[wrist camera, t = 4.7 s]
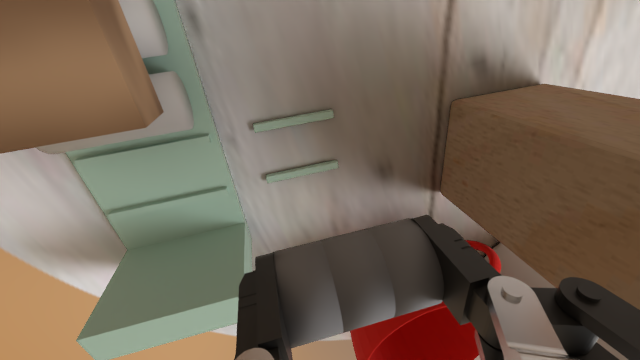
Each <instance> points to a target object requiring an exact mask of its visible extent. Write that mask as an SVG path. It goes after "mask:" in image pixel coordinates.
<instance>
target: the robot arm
mask: <svg viewBox="0 0 640 360" xmlns="http://www.w3.org/2000/svg"><path fill="white" fill-rule="evenodd" d="M410 220H412V221H414V222H415V223H417V224H418V225H419V226H420V227H421V228H422V230H423V231H424V232H425V234H426V235H427V237H428V238H429V240H430V242H431V244H432V246H433V248H434V250H435V252H436V255H437V257H438V260H439V263H440V266H441V270H442V274H443V280H444V296H443V299H442V301H443V302H444V304H445V305H446V306H447V308H448V309H449V310H450V312H451V313H452V315H453V316H454V317H455V319H456V320H457V322H458V323H459V324H460V325H463V324H466V323H469V322H471V323H472V325H473V326H474V327H475V331H474V335H475V340H476V344H477V348H478V352H479V355H480V359H481V360H619V359H618V358H617V357H615V356H614V355H613V354H611V353H610V352H609V351H608V350H606V349H605V348H604V347H602V346H601V345H600V344H598V343H597V340H598V339H599V338H600V339H602V340H603V341H604V342H606V343H607V344H608V345H610V346H611V347H612V348H614V349H615V350H616V351H618V352H619V353H620V354H622V355H623V356H624V357H626V358H627V359H628V360H640V310H639V309H637V308H636V307H634V306H633V305H631V304H629V303H628V302H626V301H625V300H623V299H621V298H620V297H618V296H616V295H615V294H613V293H612V292H610V291H608V290H607V289H605V288H604V287H602V286H600V285H598V284H596V283H594V282H592V281H589V280H587V279H583V278H578V277H568V278H565V279H563V280H562V281H561V282H560V284H559V286H558V288H534V287H529V286H528V285H526V284H525V283H523V282H522V281H520V280H518V279H515V278H512V277H508V276H502V275H501V274H500V273H499V272H498V271H497V270H496V269H495V268H493V267H492V266H491V265H490V264H489V263H488V262H487V261H486V260H485V259H484V258H483V257H482V256H481V255H480V254H479V253H478V252H477V251H476V250H475V249H474V248H473V247H471V246H470V244H469V243H468V242H467V241H465V240H463V238H462V237H461V236H460V235H459V234H458V233H457V232H456V231H455V230H454V229H452V228H450V227H448V226H446V225H444V224H437V223H436V222H435V221H434V220H433V219H432V218H431V217H430V216H429V215H424V216H420V217H416V218H412V219H410ZM255 266H256V271H253V272H249V273H245V274H244V276H243V278H242V280H241V282H240V284H239V295H238V298H239V300H238V319H237V344H236V355H235V359H234V360H292V352H291V345H290V342H289V339H288V335H287V332H286V327H285V323H284V319H283V314H282V309H281V304H280V299H279V293H278V287H277V281H276V274H275V266H274V253H270V254H266V255H262V256H258V257H256V258H255Z"/></svg>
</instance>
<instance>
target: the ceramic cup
mask: <svg viewBox="0 0 640 360" xmlns="http://www.w3.org/2000/svg"><path fill="white" fill-rule="evenodd" d="M465 241H467V242H468V243H469V244H470V246H471V247H473V248H474V249H476V250H480V251H483V252H484V253H486V255H487V256H488V258H489V264H490V265H491V266H492V267H493V268H495V269H496V270H497V271H498V272H499V273H500V271H501V261H500V259H499V257H498V255H497V253H496V252H495V251H494V250H493V249H491V248H490V247H489V246H487V245H485V244H483V243H480V242H477V241H470V240H465ZM474 331H475V327H474V326H473V325H472V323H471V322H469V323H466V324H463V325H460V324H459V323H458V322H457V320H456V319H455V317H454V316H453V315H452V313H451V312H450V310H449V309H448V308H447V306H446V305H445V304H444V302H442V303H440V304H437V305H434V306H431V307H427V308H424V309H421V310H417V311H414V312H411V313H407V314H404V315H401V316H397V317H394V318H391V319H387V320H384V321H381V322H377V323H374V324H371V325H367V326H364V327H361V328H357V329H354V330H351V331H350V333H351V338H352V342H353V347H354V351H355V354H356V358H357V360H474V359H475V358H476V357H477V356H478V355H479V352H478V348H477V344H476V340H475V335H474Z"/></svg>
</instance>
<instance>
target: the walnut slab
mask: <svg viewBox="0 0 640 360" xmlns="http://www.w3.org/2000/svg"><path fill="white" fill-rule="evenodd" d="M163 112H164V111H163V109H162V106H161V104H160V101H159V99H158V96H157V94H156V92H155V89H154V87H153V84H152V82H151V79H150V77H149V74H148V72H147V69H146V67H145V65H144V62H143V60H142V57H141V55H140V52H139V50H138V47H137V45H136V42H135V40H134V38H133V35H132V33H131V30H130V28H129V25H128V23H127V20H126V18H125V16H124V13H123V11H122V8H121V6H120V3H119V1H118V0H0V153H6V152H12V151H17V150H23V149H29V148H34V147H40V146H46V145H51V144H57V143H63V142H68V141H74V140H80V139H85V138H91V137H97V136H102V135H108V134H114V133H119V132H125V131H131V130H136V129H142V128H146V127H148V126H149V125H150V124H151V123H152V122H153V121H154V120H155V119H157V118H158V117H159V116H160V115H161V114H162V113H163Z"/></svg>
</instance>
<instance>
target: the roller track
mask: <svg viewBox="0 0 640 360" xmlns="http://www.w3.org/2000/svg"><path fill="white" fill-rule="evenodd" d="M118 1H119V3H120V6H121V8H122V11H123V13H124V16H125V18H126V20H127V23H128V25H129V28H130V30H131V33H132V35H133V38H134V40H135V42H136V45H137V47H138V50H139V52H140V55H141V57H142V60H143V62H144V65H145V67H146V69H147V72H148V74H149V77H150V79H151V82H152V84H153V87H154V89H155V92H156V94H157V96H158V99H159V101H160V104H161V106H162V109H163V111H164V112H163V113H162V114H161V115H160V116H159V117H158V118H157V119H155V120H154V121H153V122H152V123H151V124H150V125H149V126H148V127H146V128H142V129H136V130H131V131H125V132H119V133H114V134H108V135H102V136H97V137H91V138H85V139H80V140H74V141H68V142H63V143H57V144H51V145H46V146H40V147H35V148H37V149H38V150H40V151H42V152H45V153H48V154H58V153H63V152H65V153H66V154H67V156H68V157H69V159H70V161H71V162H72V164H73V165H74V167H75V168H76V170H77V172H78V173H79V175H80V176H81V178H82V179H83V181H84V183H85V184H86V186H87V187H88V189H89V190H90V192H91V194H92V195H93V197H94V198H95V200H96V201H97V203H98V205H99V206H100V208H101V209H102V211H103V212H104V214H105V216H106V217H107V219H108V220H109V222H110V223H111V225H112V227H113V228H114V230H115V231H116V233H117V235H118V236H119V238H120V239H121V241H122V242H123V244H124V246H125V247H126V249H127V252H126V254H125V255H124V257H123V259H122V261H121V262H120V264H119V266H118V268H117V269H116V271H115V273H114V275H113V277H112V278H111V280H110V282H109V284H108V285H107V287H106V289H105V291H104V292H103V294H102V296H101V298H100V300H99V302H98V303H97V305H96V307H95V308H94V310H93V312H92V314H91V315H90V317H89V319H88V321H87V322H86V324H85V326H84V328H83V329H82V331H81V333H80V335H79V336H78V338H77V340H76V341H77V342H78V343H79V344H80V345H81V346H82V347H83V348H84V349H85V350H86V351H87V352H88V353H89V354H90V355H91V356H92V357H93V358H94V359H95V360H109V359H113V358H116V357H120V356H123V355H127V354H130V353H134V352H138V351H141V350H145V349H148V348H151V347H155V346H159V345H162V344H166V343H169V342H173V341H176V340H180V339H183V338H187V337H190V336H194V335H197V334H201V333H204V332H208V331H211V330H215V329H218V328H222V327H225V326H229V325H233V324H236V323H237V319H238V300H239V298H238V295H239V284H240V282H241V280H242V278H243V276H244V274H245V273H249V272H252V239H251V236H250V232H249V229H248V226H247V223H246V220H245V217H244V214H243V211H242V208H241V205H240V201H239V198H238V195H237V192H236V189H235V186H234V183H233V180H232V177H231V173H230V170H229V167H228V164H227V161H226V158H225V155H224V152H223V149H222V145H221V142H220V139H219V136H218V133H217V130H216V127H215V124H214V121H213V118H212V114H211V111H210V108H209V105H208V102H207V99H206V96H205V93H204V90H203V86H202V83H201V80H200V77H199V74H198V71H197V68H196V65H195V62H194V58H193V55H192V52H191V49H190V46H189V43H188V40H187V37H186V34H185V31H184V27H183V24H182V21H181V18H180V15H179V12H178V9H177V6H176V3H175V0H118Z"/></svg>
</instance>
